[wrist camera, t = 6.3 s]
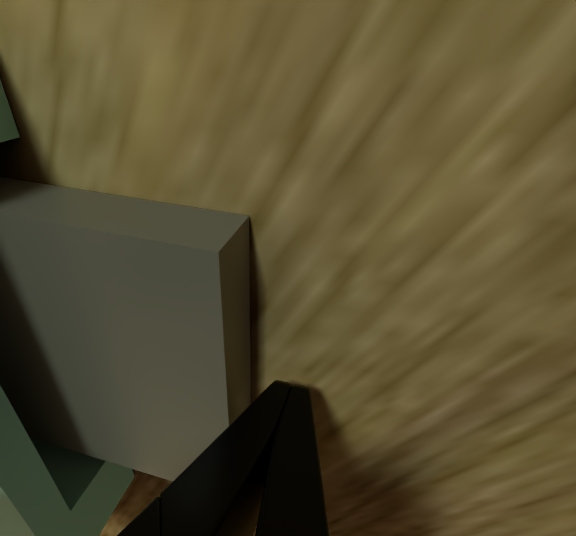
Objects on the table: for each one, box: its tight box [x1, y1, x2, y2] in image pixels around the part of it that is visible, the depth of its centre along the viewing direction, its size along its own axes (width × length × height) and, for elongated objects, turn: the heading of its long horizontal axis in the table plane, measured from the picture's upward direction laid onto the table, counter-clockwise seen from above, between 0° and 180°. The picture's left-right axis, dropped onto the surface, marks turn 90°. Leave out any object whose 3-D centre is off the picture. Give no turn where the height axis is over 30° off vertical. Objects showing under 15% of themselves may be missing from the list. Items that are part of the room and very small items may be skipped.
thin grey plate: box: [0, 177, 251, 481], centre depth 10 cm, size 11×8×2 cm
